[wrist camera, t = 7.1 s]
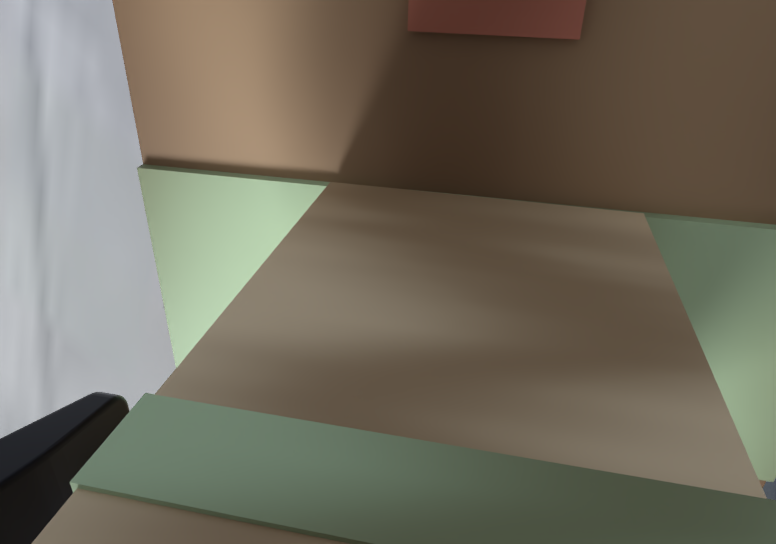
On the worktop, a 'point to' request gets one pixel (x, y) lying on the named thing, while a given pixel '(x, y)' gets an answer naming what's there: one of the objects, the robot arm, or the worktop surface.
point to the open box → (469, 139)
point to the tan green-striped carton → (434, 394)
